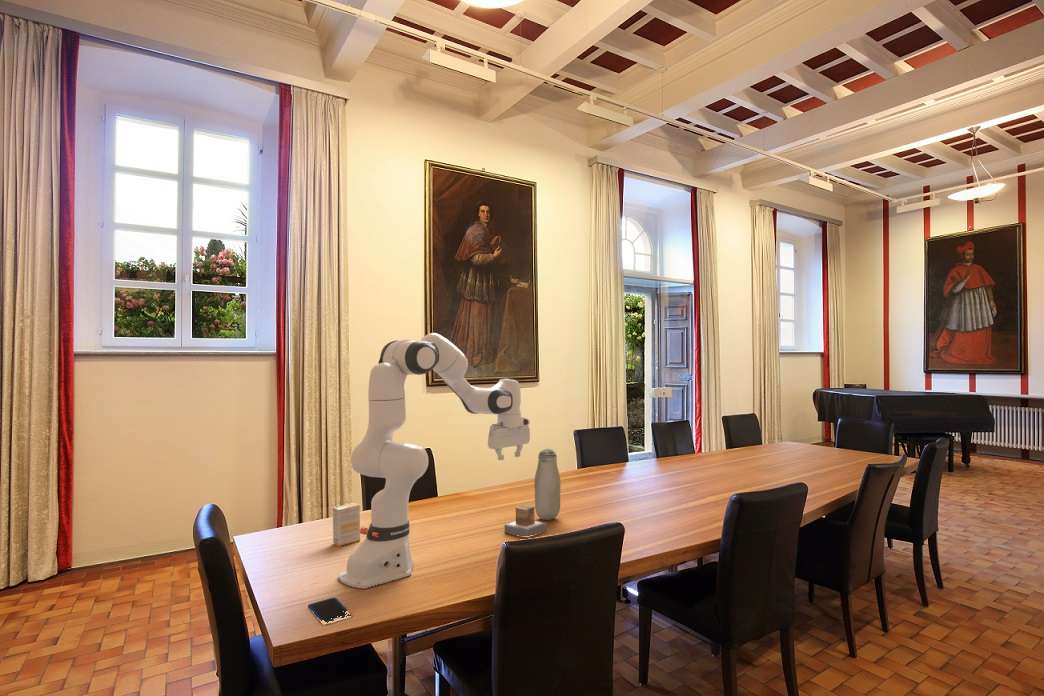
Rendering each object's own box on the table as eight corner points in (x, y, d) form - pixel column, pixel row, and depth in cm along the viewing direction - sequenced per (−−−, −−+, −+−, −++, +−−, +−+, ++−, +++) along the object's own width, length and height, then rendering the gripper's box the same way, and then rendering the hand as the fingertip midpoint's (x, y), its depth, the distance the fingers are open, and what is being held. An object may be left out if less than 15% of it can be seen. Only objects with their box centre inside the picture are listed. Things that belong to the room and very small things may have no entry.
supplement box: (354, 538, 195) (353, 502, 195) (360, 541, 191) (360, 504, 191) (332, 544, 189) (332, 506, 189) (338, 547, 185) (338, 509, 186)
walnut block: (526, 526, 196) (525, 509, 196) (515, 523, 199) (515, 507, 199) (534, 523, 200) (534, 506, 200) (524, 520, 203) (524, 504, 203)
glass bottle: (547, 524, 208) (547, 452, 209) (530, 518, 216) (529, 449, 217) (565, 519, 215) (564, 449, 215) (547, 513, 222) (547, 446, 223)
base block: (527, 538, 192) (527, 529, 192) (504, 532, 199) (504, 524, 199) (546, 531, 200) (546, 522, 200) (523, 525, 207) (523, 517, 207)
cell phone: (323, 627, 130) (323, 624, 130) (307, 607, 141) (307, 604, 141) (353, 618, 135) (353, 615, 135) (335, 599, 146) (335, 596, 146)
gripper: (496, 424, 192) (496, 463, 192) (532, 419, 208) (532, 455, 207) (483, 423, 196) (483, 461, 196) (520, 419, 212) (520, 454, 211)
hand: (509, 458), depth 202 cm, fingers open, 8 cm apart
